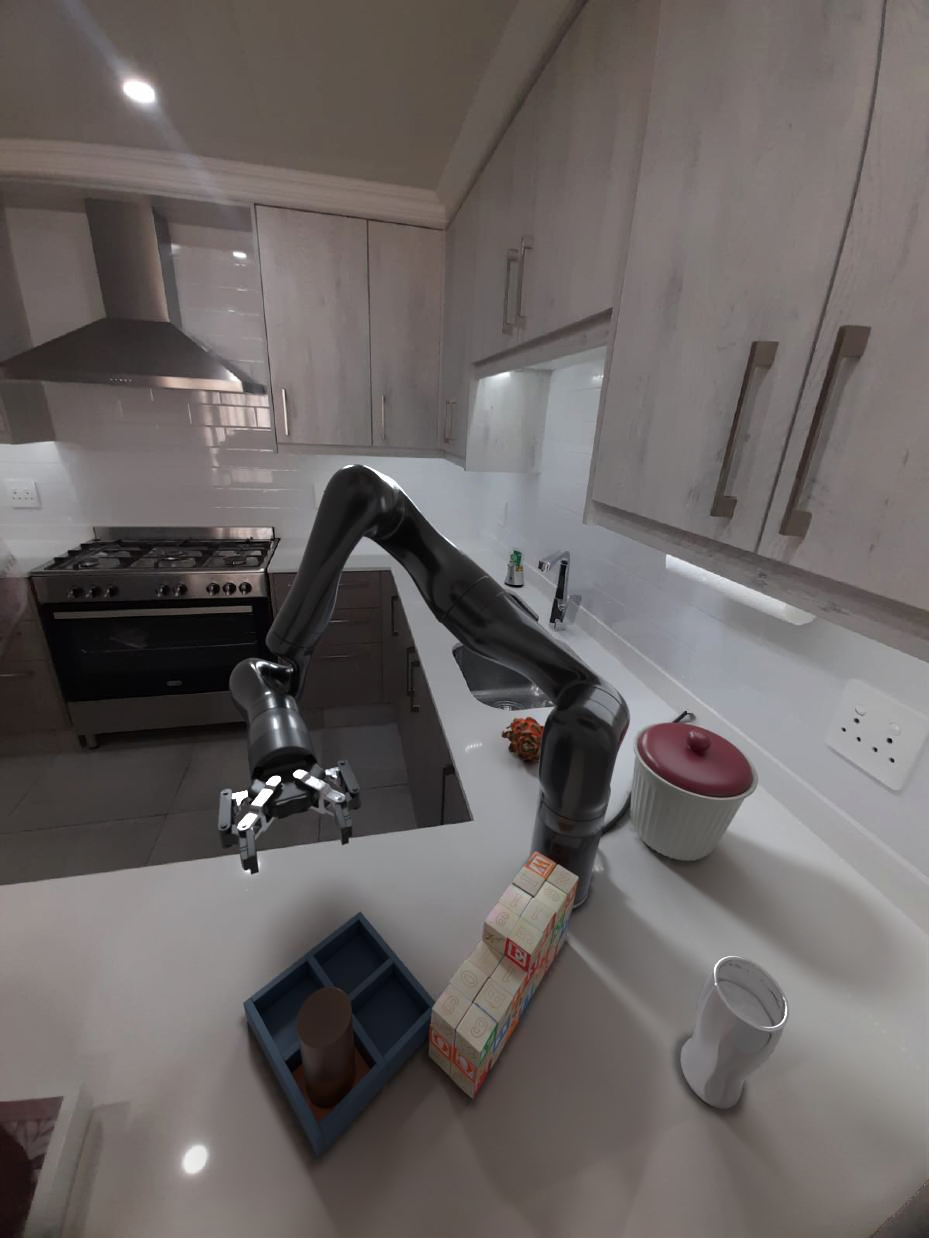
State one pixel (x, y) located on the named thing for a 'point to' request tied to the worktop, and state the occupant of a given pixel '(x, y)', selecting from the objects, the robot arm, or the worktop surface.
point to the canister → (686, 788)
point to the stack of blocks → (501, 972)
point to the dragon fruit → (525, 738)
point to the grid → (381, 1014)
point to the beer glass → (733, 1030)
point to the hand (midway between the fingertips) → (301, 852)
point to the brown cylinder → (327, 1046)
